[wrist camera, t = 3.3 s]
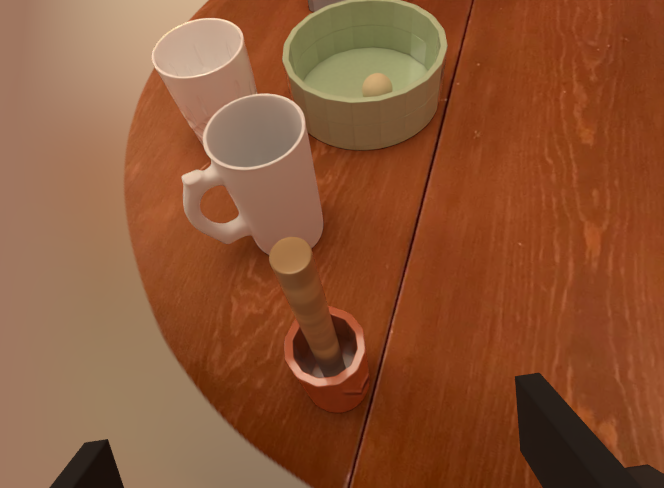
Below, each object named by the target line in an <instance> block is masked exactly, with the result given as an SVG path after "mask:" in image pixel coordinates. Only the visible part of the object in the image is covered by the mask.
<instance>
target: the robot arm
mask: <svg viewBox="0 0 664 488" xmlns="http://www.w3.org/2000/svg"><path fill="white" fill-rule="evenodd" d="M515 384H516V397H517V411H518V425H519V438H520V451H521V453H522V454H523V456H524V457H525V459H526V461H527V462H528V464H529V466H530V467H531V469H532V470H533V472H534V474H535V475H536V477H537V479H538V480H539V482H540V483H541V485H542V487H543V488H664V474H663V473H661V472H660V471H658V470H656V469H655V468H653V467H651V466H650V465H648V464H647V465H641V466H634V467H627V468H624V467H623V466H622V464H621V463H620V462H619V461H618V460H617V459H616V458H615V457H614V455H613V454H612V453H611V452H610V451H609V450H608V449H607V448H606V447H605V445H604V444H603V443H602V442H601V441H600V440H599V439H598V438H597V436H596V435H595V434H594V433H593V432H592V431H591V430H590V429H589V428H588V426H587V425H586V424H585V423H584V422H583V421H582V420H581V419H580V417H579V416H578V415H577V414H576V413H575V412H574V411H573V410H572V409H571V407H570V406H569V405H568V404H567V403H566V402H565V401H564V400H563V399H562V397H561V396H560V395H559V394H558V393H557V392H556V391H555V390H554V388H553V387H552V386H551V385H550V384H549V383H548V382H547V381H546V380H545V378H544V377H543V376H542V375H541V374H540V373H534V374H527V375H521V376H515ZM50 488H124V486H123V483H122V481H121V478H120V474H119V471H118V468H117V466H116V463H115V460H114V456H113V453H112V450H111V447H110V445H109V441H108V439H106V440H99V441H93V442H86V443H84V444H83V446H82V447H81V448H80V449H79V451H78V452H77V453H76V455H75V456H74V457H73V458H72V460H71V461H70V462H69V463H68V465H67V466H66V467H65V469H64V470H63V471H62V472H61V474H60V475H59V476H58V478H57V479H56V480H55V481H54V483H53V484H52V485H51V487H50Z"/></svg>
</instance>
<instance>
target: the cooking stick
mask: <svg viewBox="0 0 664 488" xmlns="http://www.w3.org/2000/svg"><path fill="white" fill-rule="evenodd" d="M269 262H270V265H271V267H272V269H273V271H274V273H275V275H276V277H277V279H278V282H279V284H280V286H281V288H282V290H283V292H284V294H285V296H286V298H287V300H288V303H289V305H290V307H291V309H292V311H293V313H294V315H295V317H296V319H297V321H298V323H299V326H300V328H301V330H302V332H303V334H304V336H305V338H306V340H307V342H308V344H309V347H310V349H311V351H312V353H313V355H314V357H315V359H316V361H317V363H318V365H319V367H320V370H321V372H322V374H323V376H324V377H331V376H337V375H338V374H339V373H341V372H342V371H343V370H345V369H346V367H345V363H344V360H343V356H342V353H341V349H340V346H339V343H338V339H337V336H336V332H335V329H334V325H333V322H332V318H331V315H330V312H329V308H328V305H327V301H326V298H325V294H324V291H323V287H322V284H321V281H320V277H319V274H318V270H317V267H316V263H315V260H314V256H313V253H312V250H311V247H310V245H309V244H308V243H307V242H306V241H305V240H303V239H301V238H298V237H287V238H284V239H281V240H280V241H278V242H277V243H276V244H275V245H274V246H273V247H272V249H271V251H270V254H269Z"/></svg>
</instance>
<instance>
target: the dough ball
mask: <svg viewBox="0 0 664 488" xmlns="http://www.w3.org/2000/svg"><path fill="white" fill-rule="evenodd" d="M392 89H393V88H392V83H391V81H390V79H389V78H388V77H387V76H386V75H384V74H381V73H374V74H371V75H370V76H368V77H367V78H366V79H365V81H364V83H363V86H362V94H363V97H373V96H380V95H384V94H387V93H390V92H392Z"/></svg>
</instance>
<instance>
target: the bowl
mask: <svg viewBox="0 0 664 488" xmlns="http://www.w3.org/2000/svg"><path fill="white" fill-rule="evenodd" d="M446 54H447V41H446V36H445V31H444V29H443V28H442V26H441V25H440V24H439V22H438V21H437V20H436V18H435V17H434V16H433V15H432V14H430V13H428V12H427V11H425V10H424V9H422V8H420V7H419V6H417V5H415V4H411V3H408V2H405V1H402V0H345V1H341V2H338V3H334V4H331V5H328V6H325V7H323V8H321V9H320V10H318V11H316V12H314V13H312V14H310V15H308V16H307V17H306V18H305V19H303V20H302V21H301V22H300V23H299V24H298V25H297V26H296V27H294V28H293V30H292V31H291V33H290V35H289V36H288V38H287V40H286V42H285V43H284V49H283V59H282V61H283V66H284V70H285V74H286V79H287V83H288V87H289V91H290V96H291V100H292V101H293V102H294V103H296V104H297V105H298V106H299V107H300V109H301V110H302V112H303V114H304V117H305V123H306V129H307V132H308V133H309V134H311V135H312V136H313V137H315V138H316V139H318V140H320V141H322V142H324V143H326V144H328V145H332V146H335V147H338V148H343V149H350V150H372V149H380V148H385V147H389V146H392V145H395V144H398V143H400V142H403V141H405V140H407V139H409V138H410V137H412V136H414V135H415V134H417V133H418V132H419V131H421V130H422V129H423V128H424V127H425V126H426V125H427V124H428V123H429V122H430V120H431V119H432V118H433V116H434V114H435V113H436V110H437V108H438V105H439V99H440V96H441V91H442V84H443V76H444V69H445V61H446ZM374 73H381V74H384V75H386V76H387V77H388V78H389V79H390V81H391V83H392V88H393V89H392V92H390V93H387V94H384V95H380V96H373V97H363V94H362V86H363V83H364V81H365V79H366V78H367V77H368V76H370V75H371V74H374Z"/></svg>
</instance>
